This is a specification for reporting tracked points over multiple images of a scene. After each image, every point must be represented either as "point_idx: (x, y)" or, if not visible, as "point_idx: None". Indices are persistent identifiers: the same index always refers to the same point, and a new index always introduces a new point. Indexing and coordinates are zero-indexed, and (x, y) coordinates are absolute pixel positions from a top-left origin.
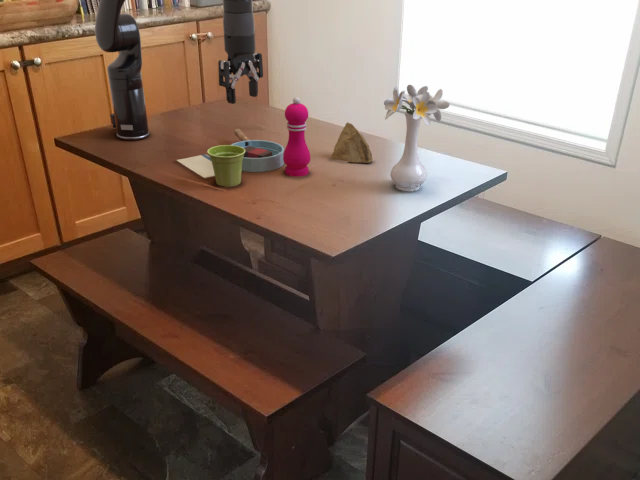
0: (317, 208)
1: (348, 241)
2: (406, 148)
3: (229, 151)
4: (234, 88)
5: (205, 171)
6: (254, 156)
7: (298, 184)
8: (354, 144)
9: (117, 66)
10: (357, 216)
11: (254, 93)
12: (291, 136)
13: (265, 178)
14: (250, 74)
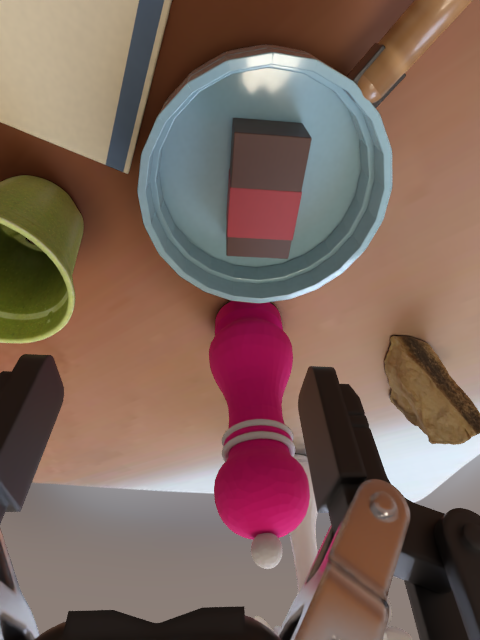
0: (108, 420)
1: (50, 477)
2: (292, 541)
3: (49, 241)
4: (16, 509)
5: (24, 61)
6: (227, 217)
7: (187, 352)
8: (414, 410)
9: None
10: (132, 459)
11: (303, 415)
12: (229, 415)
13: (165, 277)
14: (299, 599)
